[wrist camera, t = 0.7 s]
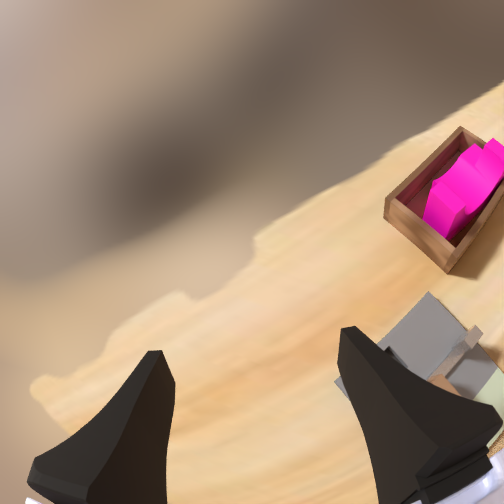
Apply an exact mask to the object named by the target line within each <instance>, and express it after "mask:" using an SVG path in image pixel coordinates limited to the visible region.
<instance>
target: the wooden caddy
mask: <svg viewBox="0 0 504 504" xmlns="http://www.w3.org/2000/svg"><path fill="white" fill-rule="evenodd" d="M474 143H475V144H476V145H478V146H479V147H480V148H481V149H483V148H484V145H485V144H486V142H484V141H483V140H481V139H480V138H478V137H477V136H475V135H474V134H472V133H471V132H469V131H468V130H466V129H464V128H463V127H461V126H459V127H458V128H457V129H456V130H455V131H454V132H453V134H452V135H451V136H450V137H449V138H448V139H446V140H445V141H444V142H443V143H442V144H441V145H440V146H439V147H438V148H437V149H436V150H435V151H434V152H433V153H432V154H431V155H430V156H429V157H428V158H427V159H426V160H425V161H424V162H423V163H422V164H421V165H420V166H419V167H418V168H417V169H416V170H415V171H414V172H412V173H411V174H410V175H409V176H408V177H407V178H406V179H405V180H404V181H403V182H402V183H401V184H400V185H399V186H398V187H396V188H395V189H394V190H393V191H392V192H391V193H390V194H389V195H388V196H387V197H386V198H385V206H384V217H383V218H384V219H385V220H386V221H388V222H389V223H390V224H391V225H392V226H394V227H395V228H396V229H397V230H398V231H400V232H401V233H402V234H403V235H404V236H406V237H407V238H408V239H409V240H410V241H411V242H412V243H414V244H415V245H416V246H417V247H418V248H419V249H420V250H422V251H423V252H424V253H425V254H426V255H427V256H428V257H429V258H430V259H431V260H433V261H434V262H435V263H436V264H437V265H438V266H439V267H440V268H441V269H442V270H443V271H444V272H445V273H446V274H448V273H449V272H450V270H451V269H452V268H453V267H454V265H455V264H456V263H457V261H458V260H459V259H460V258H461V256H462V255H463V254H464V252H465V251H466V250H467V248H468V247H469V246H470V244H471V243H472V241H473V240H474V239H475V237H476V236H477V234H478V233H479V232H480V230H481V229H482V227H483V226H484V224H485V223H486V221H487V220H488V218H489V217H490V215H491V214H492V212H493V211H494V209H495V208H496V206H497V204H498V203H499V201H500V199H501V198H502V196H503V195H504V180H503V181H502V183H501V184H500V186H499V188H498V189H497V191H496V192H495V194H494V196H493V197H492V199H491V200H490V202H489V203H488V205H487V206H486V208H485V209H484V211H483V212H482V213H481V215H480V216H479V218H478V219H477V221H476V222H475V223H474V225H473V226H472V227H471V229H470V230H469V232H468V233H467V234H466V236H465V237H464V238H463V239H462V241H461V242H460V243H459V245H458V246H457V247H456V248H455V247H454V246H453V245H451V244H450V243H449V242H448V241H447V240H446V239H445V238H444V237H442V236H441V235H440V234H439V233H438V232H437V231H435V230H434V229H433V228H432V227H431V226H429V225H428V224H427V223H426V222H425V221H423V220H422V219H421V218H420V217H418V216H417V215H416V214H415V213H414V212H412V211H411V210H410V209H408V208H407V207H406V206H405V205H406V204H407V203H408V202H409V201H410V200H411V199H412V198H413V197H414V196H415V195H416V194H417V193H418V192H419V191H420V190H421V189H422V188H423V187H424V186H425V185H426V184H427V183H428V182H429V181H430V180H431V179H432V178H433V177H434V176H435V175H436V173H437V172H438V171H439V170H440V169H441V168H442V167H443V166H444V165H445V164H446V163H447V162H448V161H449V160H450V159H451V157H452V156H453V155H454V154H455V153H456V152H457V151H458V150H459V151H460V152H462V153H463V152H464V151H466V150H467V149H468V148H469V147H471V146H472V145H473V144H474Z"/></svg>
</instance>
